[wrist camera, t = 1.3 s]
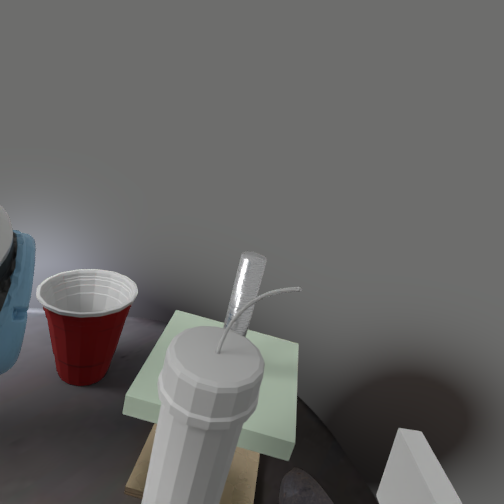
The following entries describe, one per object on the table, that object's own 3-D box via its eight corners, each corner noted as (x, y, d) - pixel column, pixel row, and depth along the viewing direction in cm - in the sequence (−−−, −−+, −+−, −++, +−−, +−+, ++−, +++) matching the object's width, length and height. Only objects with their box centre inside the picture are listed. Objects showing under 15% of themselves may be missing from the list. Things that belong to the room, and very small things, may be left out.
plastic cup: (68, 333, 57) (74, 256, 53) (140, 358, 56) (153, 281, 52) (10, 382, 47) (11, 291, 43) (97, 414, 46) (107, 324, 42)
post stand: (248, 529, 38) (326, 310, 29) (124, 493, 39) (163, 265, 30) (261, 431, 50) (320, 250, 40) (164, 404, 50) (202, 218, 41)
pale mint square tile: (288, 461, 33) (295, 443, 33) (122, 414, 34) (125, 395, 33) (293, 358, 46) (298, 343, 46) (173, 324, 47) (176, 309, 46)
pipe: (158, 559, 34) (238, 225, 23) (210, 626, 31) (333, 275, 20) (97, 614, 30) (158, 238, 19) (150, 698, 27) (262, 304, 16)
